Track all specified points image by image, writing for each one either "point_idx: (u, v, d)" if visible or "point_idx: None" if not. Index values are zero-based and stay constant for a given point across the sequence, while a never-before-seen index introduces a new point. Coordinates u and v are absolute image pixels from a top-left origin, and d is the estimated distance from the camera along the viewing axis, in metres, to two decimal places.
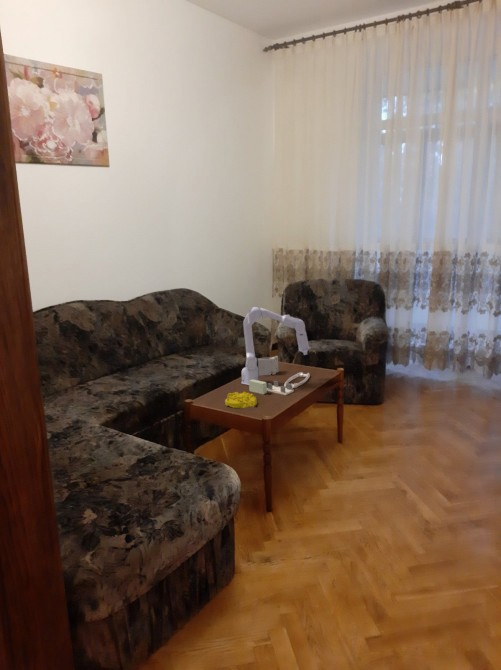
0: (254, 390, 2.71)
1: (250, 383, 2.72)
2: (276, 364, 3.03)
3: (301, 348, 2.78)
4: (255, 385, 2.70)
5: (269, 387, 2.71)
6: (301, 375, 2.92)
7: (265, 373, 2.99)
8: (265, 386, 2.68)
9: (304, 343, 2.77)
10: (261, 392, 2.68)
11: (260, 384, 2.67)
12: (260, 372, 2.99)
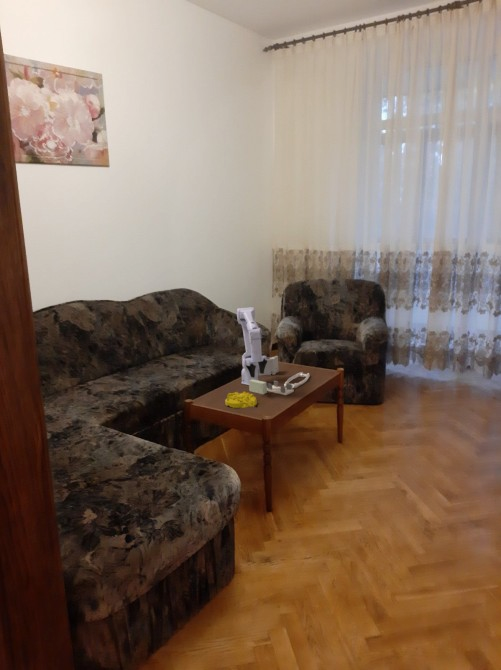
0: (254, 390, 2.71)
1: (250, 383, 2.72)
2: (276, 364, 3.03)
3: (251, 358, 2.66)
4: (255, 385, 2.70)
5: (269, 387, 2.71)
6: (301, 375, 2.92)
7: (265, 373, 2.99)
8: (265, 386, 2.68)
9: (253, 354, 2.64)
10: (261, 392, 2.68)
11: (260, 384, 2.67)
12: None
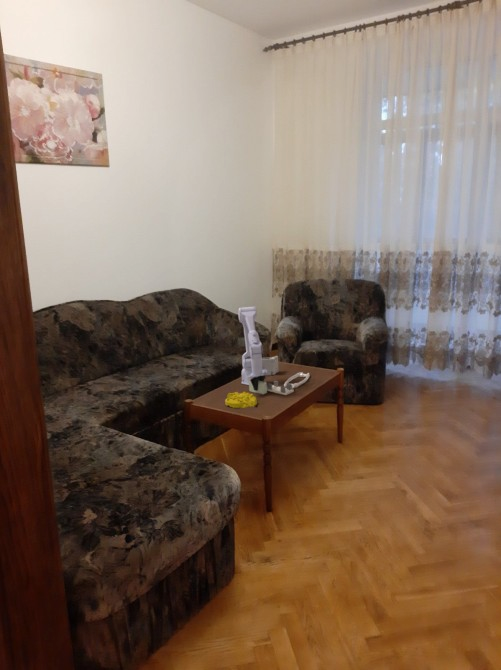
0: (254, 390, 2.71)
1: (250, 383, 2.72)
2: (276, 364, 3.03)
3: (252, 372, 2.68)
4: None
5: (269, 387, 2.71)
6: (301, 375, 2.92)
7: None
8: (265, 386, 2.68)
9: (254, 368, 2.66)
10: (261, 392, 2.68)
11: (260, 384, 2.67)
12: None
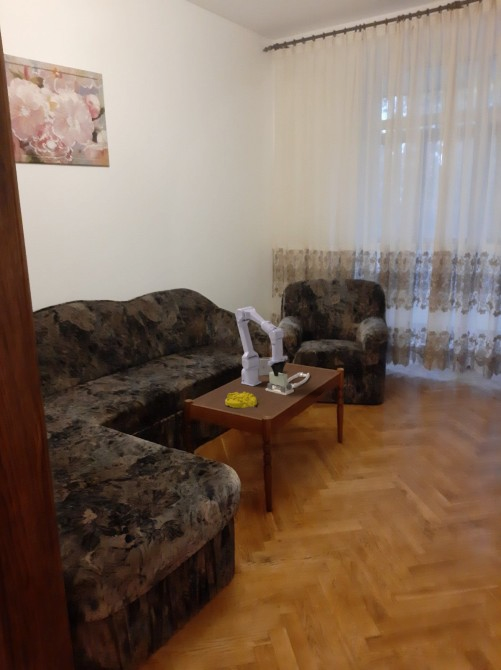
0: (274, 382, 2.70)
1: (270, 375, 2.71)
2: None
3: (272, 358, 2.66)
4: (276, 377, 2.68)
5: (269, 387, 2.71)
6: (301, 375, 2.92)
7: (265, 373, 2.99)
8: (286, 378, 2.67)
9: (275, 354, 2.64)
10: (282, 384, 2.67)
11: (281, 376, 2.66)
12: (260, 372, 2.99)
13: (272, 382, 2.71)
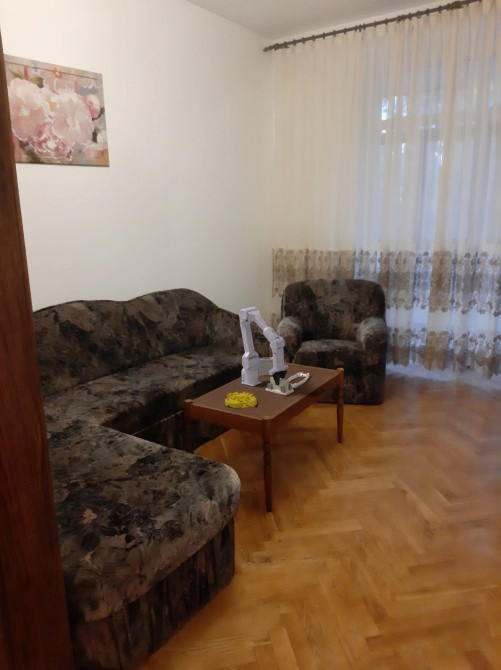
0: (276, 387, 2.70)
1: (271, 380, 2.71)
2: None
3: (273, 367, 2.67)
4: None
5: (269, 387, 2.71)
6: (301, 375, 2.92)
7: (265, 373, 2.99)
8: (287, 383, 2.67)
9: (276, 363, 2.65)
10: None
11: (282, 381, 2.66)
12: (260, 372, 2.99)
13: (273, 387, 2.72)
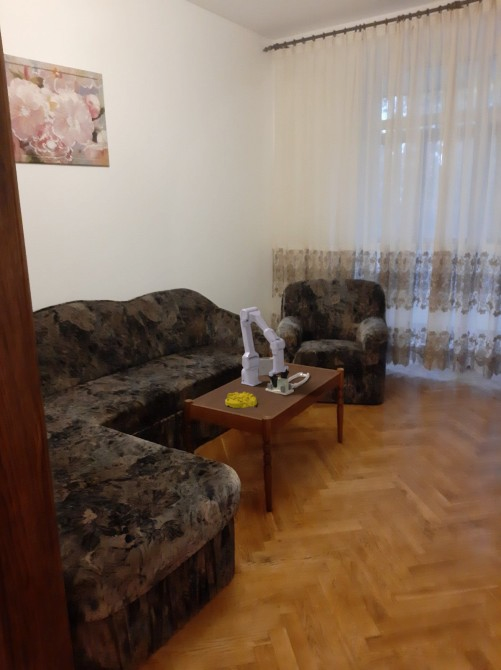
0: None
1: None
2: None
3: (273, 368, 2.67)
4: (277, 382, 2.69)
5: (269, 387, 2.71)
6: (301, 375, 2.92)
7: (265, 373, 2.99)
8: (287, 383, 2.67)
9: (276, 364, 2.65)
10: None
11: (282, 381, 2.66)
12: (260, 372, 2.99)
13: (273, 387, 2.72)
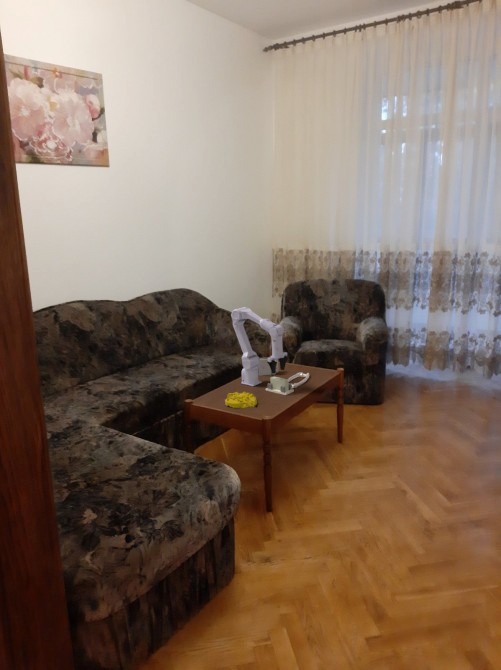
0: (276, 387, 2.70)
1: (271, 380, 2.71)
2: (276, 364, 3.03)
3: (272, 354, 2.70)
4: (277, 382, 2.69)
5: (269, 387, 2.71)
6: (301, 375, 2.92)
7: (265, 373, 2.99)
8: (287, 383, 2.67)
9: (275, 350, 2.68)
10: None
11: (282, 381, 2.66)
12: (260, 372, 2.99)
13: (273, 387, 2.72)
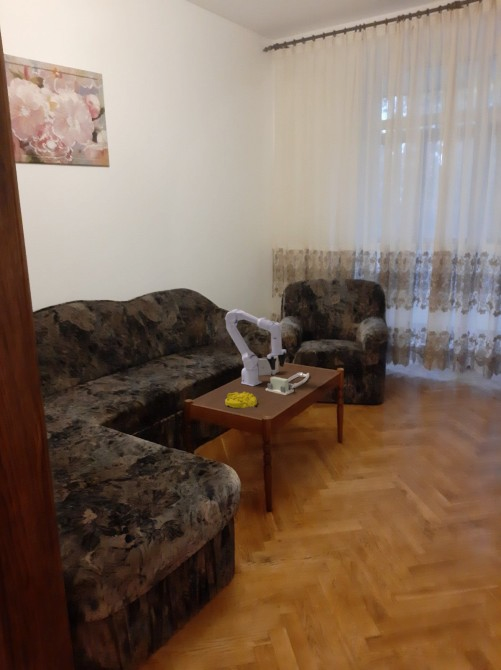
0: (276, 387, 2.70)
1: (271, 380, 2.71)
2: (276, 364, 3.03)
3: None
4: (277, 382, 2.69)
5: (269, 387, 2.71)
6: (301, 375, 2.92)
7: (265, 373, 2.99)
8: (287, 383, 2.67)
9: (274, 347, 2.74)
10: None
11: (282, 381, 2.66)
12: (260, 372, 2.99)
13: (273, 387, 2.72)
